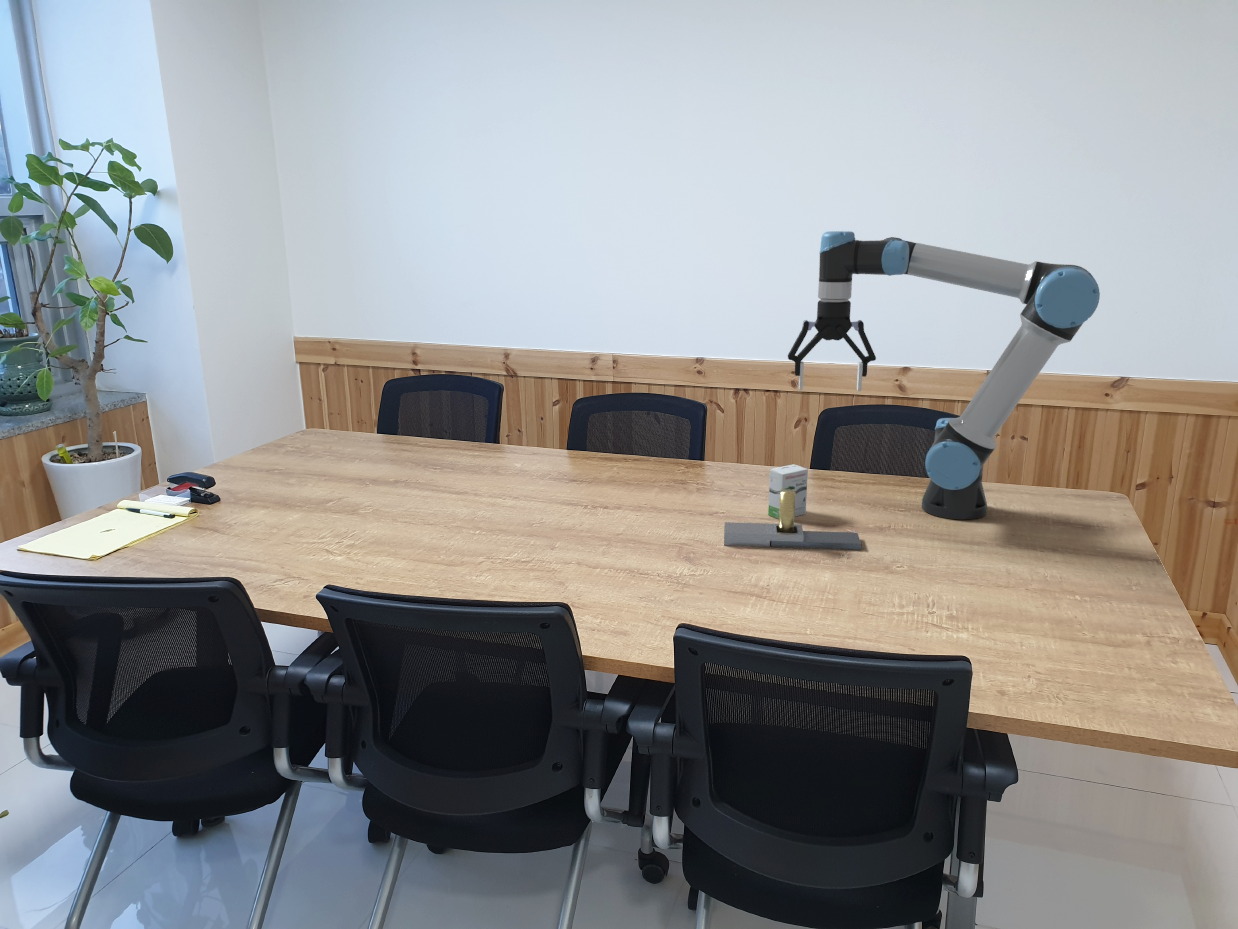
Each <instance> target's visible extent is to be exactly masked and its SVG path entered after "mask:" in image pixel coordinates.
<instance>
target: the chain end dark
mask: <svg viewBox="0 0 1238 929" xmlns="http://www.w3.org/2000/svg"><path fill="white" fill-rule="evenodd" d="M777 533H779V532H777ZM794 533H796V532H794ZM803 534H804V539H803V542H796V541H770V547H771V548H788V549H789V548H791V549H792V548H794V549H819V550H821V549H823V550H844V551H845V550H846V551H847V550H848V551H850V550H851V551H861V550H862V543H861V540H860V537H859V533H858V532H849V531H824V530H823V531H818V530H814V531H813V530H803Z"/></svg>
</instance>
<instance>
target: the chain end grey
mask: <svg viewBox="0 0 1238 929" xmlns="http://www.w3.org/2000/svg"><path fill="white" fill-rule="evenodd" d="M803 531H804V530H803V526H802V524H798V523H797V524H796V523H794V532H796V533H777V532H779V523H766V522H765V523H763V522H762V523H761V522H734V521H733V522H732V521H731V522H729V521H725V522H724V532H723V546H732V547H735V546H736V547H737V546H738V547H759V548H760V547H761V548H763V547H765V548H770V547H771V541H796V542H803V539H804V534H803Z"/></svg>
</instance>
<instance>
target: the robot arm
mask: <svg viewBox="0 0 1238 929" xmlns="http://www.w3.org/2000/svg"><path fill="white" fill-rule="evenodd" d="M818 254H819V267H818V268H819V269H818V272H819V273H818V275H819V276H818V290H817V298H818V299H820V300H818V302H817V308H816V309H817V311H816V313H817V314H816V319H815V321H810V320H808V319H805V320H803V322H802V328H801V331H799V333H798V336H797V337H796V339H795V342H794V343H793V345H792V346H791V347H790V348H791V349H790V351H789V352H788V354H787V359H788V360H789V361H793V362H794V375H795V377H799V378H798V389H799V391H803V389H804V367H805V366H804V365H805V364H804V361H803V360H804V358H806V356H807V355H808V354H809V353H810V352H811V351H812V350H813V349H814V348H815V347H816V345H818V344H819V343H820V342H821V341H822V339H823V340H825V341H832V340H833V341H840V340H844V341H845V342H846V343H847V345H848V346H849V347H850V348H851V349H852V351H853V352H854V353H855V354H856V355H857V357H858V358H859V359H860V360H861V361H857V375H856V376H857V377H856V390H857V392H862V384H863V383H862V381H863V377H865V378H866V377H867V375H868V364H869V363H870V362H874V361H876V360H877V357H876V353H874V351H873V350H874V349H873V348H872V346H871V344H870V341H869V339H868V336H867V334H866V332H865V325H864V322H863V321H862V320H861V319H859V320H857V321H851V308H852V307H851V304H852V303H851V301H850V300H849V299H851V298H852V288H853V287H852V285H853V275H878V276H881V275H883V276H900V275H907V276H914V277H918V278H922V279H927V280H932V281H936V282H942V283H944V284H945V283H946V284H950V285H955V286H960V287H963V288H970V289H973V290H974V289H975V290H978V291H983V292H988V293H993V294H998V295H1002V296H1007V297H1012V298H1017V299H1019V300H1020V302H1021V304H1023V305H1025V306H1024V307H1023V309H1022V311H1021V312H1020V314H1019V316H1020V321H1021V325H1020V327H1019V329H1018V330H1017V331H1016V333H1015V335H1014V336H1013V337H1012V339H1011V341H1010V342H1009V343H1008V345H1007V346H1006V348H1005V349H1004V351H1003V352H1002V354H1001V355H1000V357H998V360H997V361H996V363H995V364H994V365H993V367H992V369H991V370H990V372H989V373H988V374H987V376H986V378H985V379H984V381H983V382H982V384H981V385H980V386H979V388H978V390H977V391H976V392H975V394H974V395H973V397H972V398H971V400H970V401H969V403H968V405H967V406H966V407H965V409H964V410H963V412H962V413H961V415H960V416H957V417H941V418H939V419H937V421H936V424H935V427H934V431H935V434H934V440H933V443H932V445H931V446H930V448H929V450H928V451H927V453H926V455H925V460H924V461H925V462H924V463H925V470H926V474H927V476H928V478H929V479H930V480H929V482H928V485H927V487H926V489H925V492H924V494H923V496H922V498H921V510H923V511H924V512H926V513H928V514H930V515H932V516H936V517H938V518H944V519H951V520H976V519H981V518H982V517H984V516H986V515H987V512H988V503H987V499H986V495H985V494H986V493H985V491H984V490H985V489H984V486H983V474H984V465H985V464H986V462H987V461H988V459H989V458H990V456H991V454H993V452H994V450H995V449H996V448H997V443H996V440H995V438H996V435H997V434H998V432H999V431H1000V430H1001V428H1002V426H1004V424H1005V422H1006V421H1007V420H1008V418H1009V417H1010V415H1011V414H1012V412H1013V411H1014V409H1016V408H1017V405H1018V404H1019V402H1020V401H1021V399H1022V398H1023V396H1024V395H1025V394H1026V392H1027V391H1028V390H1029V388H1030V387H1031V385H1032V384H1033V382H1034V381H1035V379H1037V377H1038V375H1039V374H1040V373H1041V371H1042V370H1043V368H1044V367H1045V366H1046V364H1047V363H1048V361H1049V360H1050V358H1051V357H1052V355H1053V354H1054V352H1055V351H1056V349H1057V348H1058V346H1060V345H1062V344H1066V343H1070V342H1072V340H1073V338H1074V337H1075V336H1076V334H1077V333H1078V331H1079V330H1080V328H1081V327H1082V326H1083V324H1084V323H1085V322H1087V321H1088V319H1090V318H1091V317H1092V316H1093V315H1094V313H1095V312H1096V311H1097V308H1098V305H1099V302H1100V298H1101V296H1100V294H1101V292H1100V288H1099V284H1098V282H1097V281H1096V279H1095V277H1094V276H1093V275H1092V273H1090V271H1088V270H1087V269H1086V268H1084V267H1082V266H1080V265H1075V264H1059V263H1049V262H1048V263H1047V262H1042V261H1038V260H1036V261H1033V262H1031V263H1030V264H1028V263H1022V262H1016V261H1012V260H1007V259H1002V258H996V257H991V256H987V255H981V254H976V253H970V252H967V251H961V250H957V249H950V248H945V247H940V246H935V245H929V244H925V243H920V242H913V241H908V240H905V239H902V238H901V237H896V236H895V237H893V236H892V237H886V238H885V239H881V240H858V239H856V236H855V232H853V231H849V230H848V231H846V230H841V231H839V230H837V231H835V230H832V231H830V230H829V231H825V232H823V234H822V235H821V241H820V250H819V253H818ZM812 328H815V329H816V331H817V333H816V334H815V335H814V337H813V338H812V339H811V340H810V341H808V343H807V344H805V347H804V348H802V350H800V351H799V353H798V354H797V352H798V350H799V348H800V347H801V345H802V343H803V342H804V339H805V338H806V336H807V334H808V331H809V332H810V331H811V330H812ZM852 328H854V330H855V331H856V332H857V333H858V335H859V338H860V339H861V341H862V344H863V346H864V349H865V350H866V353H867V355H866V356H865V354H864V353H863V352H862V351H861V349H860V348H859V347H858V346H857V344H856V343H855V341H853V339H852V338H851V337H850V336H849V334H848V333H849V331H850V329H852ZM796 354H797V355H796Z"/></svg>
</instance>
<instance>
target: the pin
mask: <svg viewBox="0 0 1238 929" xmlns="http://www.w3.org/2000/svg"><path fill="white" fill-rule="evenodd" d="M795 495H796V492H795V491H794V490H790V489H784V490H781V491H780V508H779V519H778V524H779V533H794V524H795V517H796V516H795Z"/></svg>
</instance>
